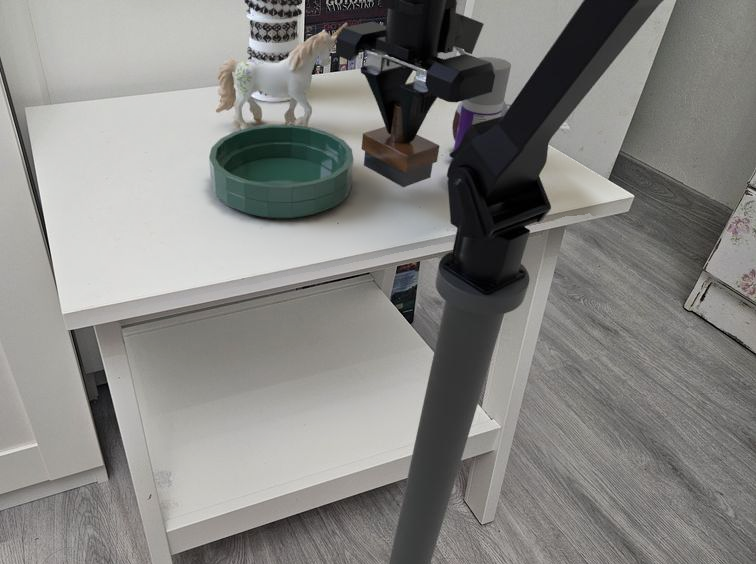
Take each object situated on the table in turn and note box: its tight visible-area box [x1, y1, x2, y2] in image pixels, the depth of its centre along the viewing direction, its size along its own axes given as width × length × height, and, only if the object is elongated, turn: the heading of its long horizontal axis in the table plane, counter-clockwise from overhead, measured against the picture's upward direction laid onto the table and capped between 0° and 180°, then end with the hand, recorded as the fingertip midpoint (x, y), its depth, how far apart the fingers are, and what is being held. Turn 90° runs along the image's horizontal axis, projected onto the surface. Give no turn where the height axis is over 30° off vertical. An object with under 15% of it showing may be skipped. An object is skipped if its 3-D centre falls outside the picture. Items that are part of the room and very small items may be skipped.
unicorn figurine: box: [215, 22, 349, 130], centre depth 91 cm, size 7×20×13 cm, turn 99°
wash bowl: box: [208, 124, 354, 219], centre depth 80 cm, size 18×18×4 cm
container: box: [450, 56, 512, 163], centre depth 77 cm, size 5×5×15 cm
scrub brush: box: [361, 101, 440, 188], centre depth 73 cm, size 8×5×8 cm, turn 36°
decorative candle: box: [244, 0, 303, 103], centre depth 98 cm, size 9×9×25 cm
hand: (400, 137), depth 73 cm, fingers closed on scrub brush, 2 cm apart
